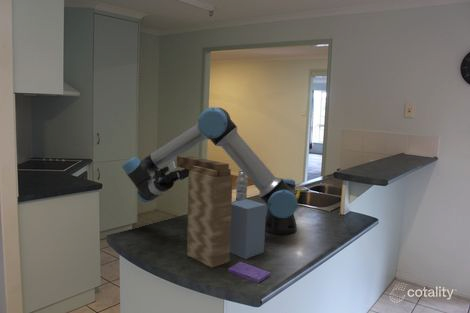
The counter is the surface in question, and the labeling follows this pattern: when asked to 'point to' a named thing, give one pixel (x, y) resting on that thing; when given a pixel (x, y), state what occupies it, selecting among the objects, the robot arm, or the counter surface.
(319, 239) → the counter surface
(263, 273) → the sponges
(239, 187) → the plastic bottle
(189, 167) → the walnut bar
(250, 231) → the blue step
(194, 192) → the oak post
